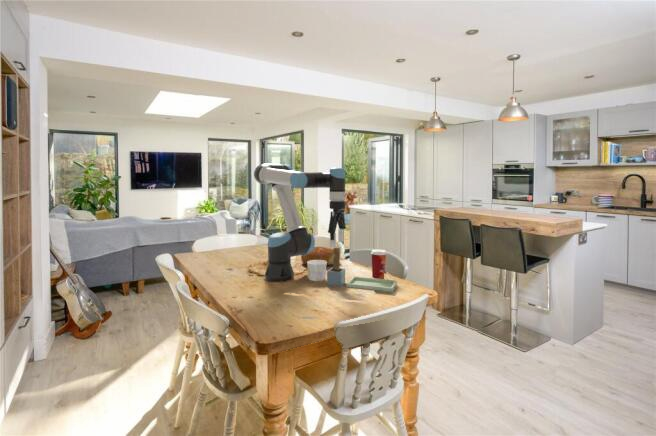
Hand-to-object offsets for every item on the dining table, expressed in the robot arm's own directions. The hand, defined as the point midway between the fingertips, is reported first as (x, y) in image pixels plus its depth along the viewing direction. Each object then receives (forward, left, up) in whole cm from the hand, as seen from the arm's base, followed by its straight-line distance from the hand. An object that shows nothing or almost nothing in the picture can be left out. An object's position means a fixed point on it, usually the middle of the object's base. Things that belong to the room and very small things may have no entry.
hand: (337, 244), depth 190 cm
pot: (0, 0, -21) cm, 21 cm away
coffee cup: (+17, +20, -21) cm, 34 cm away
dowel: (0, 0, -20) cm, 20 cm away
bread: (-23, +42, -21) cm, 53 cm away
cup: (-12, +5, -21) cm, 25 cm away
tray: (+17, +4, -21) cm, 27 cm away
